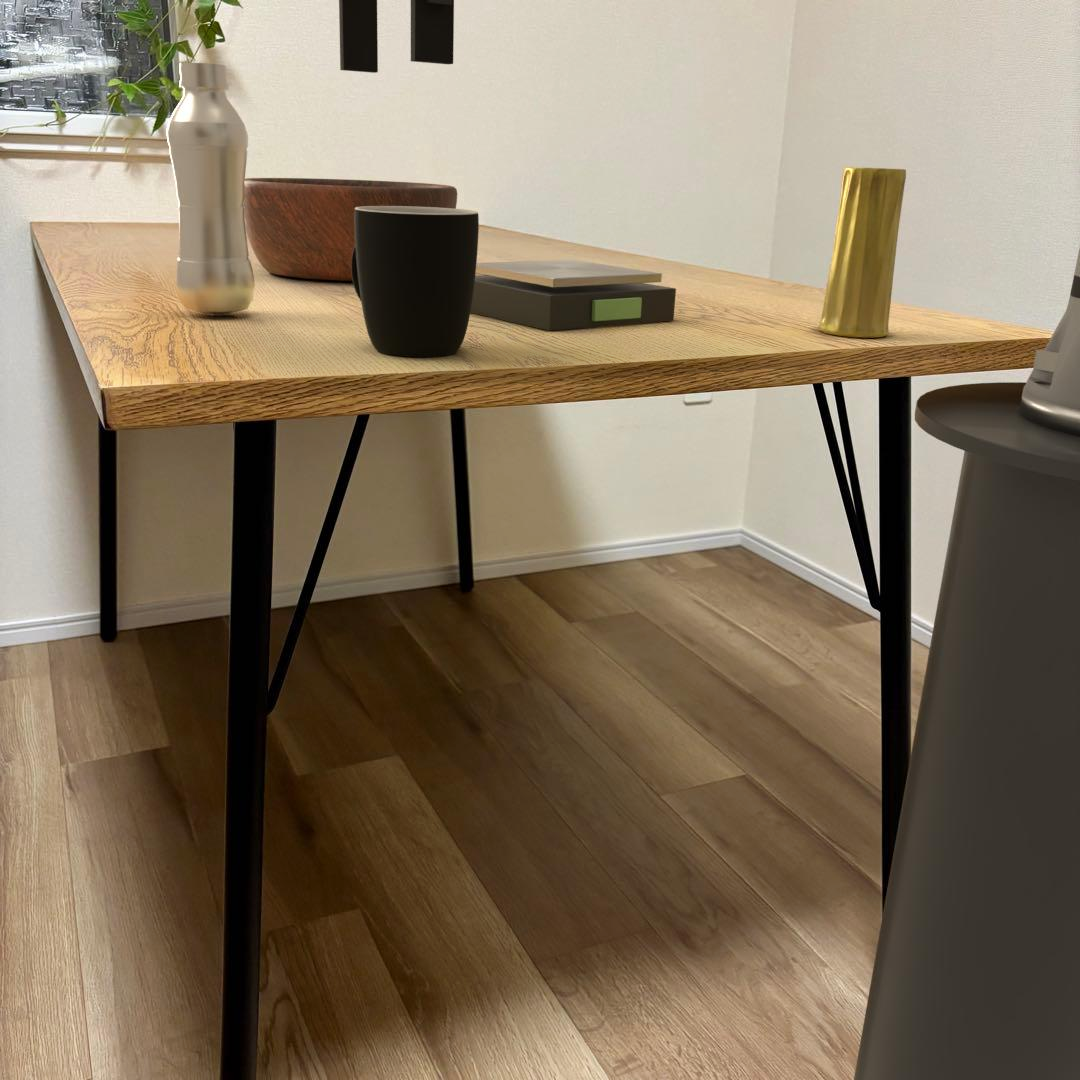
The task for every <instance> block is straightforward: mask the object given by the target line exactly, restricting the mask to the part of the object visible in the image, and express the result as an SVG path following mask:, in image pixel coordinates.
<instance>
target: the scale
mask: <svg viewBox="0 0 1080 1080" xmlns="http://www.w3.org/2000/svg"><path fill="white" fill-rule="evenodd" d="M676 294H677V288H675V287H669V286H663V285H656V284H652V283H651V284H650V283H633V284H614V285H595V286H576V287H557V288H552V287H547V286H542V285H536V284H531V283H525V282H520V281H515V280H509V279H504V278H498V277H493V276H487V275H482V274H478V275H475V283H474V291H473V298H472V305H471V311H470V314H471V313H472V314H475V315H479V316H483V317H488V318H493V319H496V320H501V321H504V322H505V321H506V322H510V323H513V324H518V325H522V326H527V327H530V328H531V327H532V328H535V329H540V330H545V331H549V332H553V331H555V332H556V331H564V330H565V331H566V330H568V331H569V330H578V329H580V330H581V329H590V328H602V327H615V326H625V325H627V326H628V325H640V324H650V323H653V324H654V323H662V322H663V323H664V322H674V320H675V307H676V296H677V295H676Z"/></svg>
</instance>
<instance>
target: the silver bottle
mask: <svg viewBox="0 0 1080 1080" xmlns="http://www.w3.org/2000/svg"><path fill="white" fill-rule="evenodd" d="M179 77H180V78H179V79H180V80H179V88H183V96H182V97H181V100H180V101H179V102H178V104H177V106H176V107H175V108H174V110H173V112H172V114H171V117H170V118H169V120H168V123H167V128H166V139H167V144H168V146H169V148H168V150H169V155H170V161H171V164H172V165H171V166H172V171H173V176H174V180H175V189H176V190H175V191H176V198H177V199H178V204H177V208H178V221H179V222H178V255H179V256H178V257H177V261H176V268H175V280H174V281H175V288H176V293H177V297H178V300H179V302H180V303H181V305H182V306H183V307H184V309H186V310H189V311H192V312H196V313H202V314H205V315H209V316H216V317H217V316H226V315H231V314H233V313H238V312H242V311H245V310H248V309H249V308H250V306H251V304H252V303H253V301H254V294H255V286H256V283H255V278H254V271H253V267H252V263H251V259H249V256H250V255H249V247H248V237H247V233H246V229H245V221H244V207H243V201H244V182H245V179H246V171H247V170H246V168H247V158H248V147H249V134H248V131H247V128H246V125H245V123H244V121H243V119H242V118H241V116H240V115H239V113H238V111H237V110H236V108H235V107H234V106H233V105H232V103H231V102H230V101H229V100H228V98H227V93H226V91H229V90H230V84H229V83H228V68H227V66H226V65H225V64H220V63H219V64H218V63H207V62H180V63H179Z"/></svg>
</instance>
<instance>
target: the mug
mask: <svg viewBox="0 0 1080 1080" xmlns="http://www.w3.org/2000/svg"><path fill="white" fill-rule="evenodd" d="M479 217H480V216H479V212H478V211H476V210H471V209H464V208H463V209H462V208H456V209H452V208H437V207H413V206H363V207H356V208H355V211H354V231H355V247H354V249H353V253H352V259H351V274H352V280H353V281H352V284H353V289H354V291H355V293H356V296H357V297H358V299H359V301H360V302H361V309H362V314H363V319H364V324H365V327H366V331H367V335H368V338H369V340H370V343H371V344H372V347H373V348H374V349H375V350H376V351H377V352H378V353H382V354H384V355H385V354H386V355H390V356H398V357H408V358H409V357H410V358H411V357H412V358H432V357H443V356H449V355H453V354H455V353H457V352H458V351H459V350H460V348H461V347H462V344H463V342H464V340H465V337H466V334H467V331H468V326H469V321H470V317H471V313H470V311H471V305H472V298H473V291H474V283H475V276H476V274H477V273H476V263H478V250H479V229H480V228H479V223H480V222H479V221H480V220H479V219H480V218H479Z"/></svg>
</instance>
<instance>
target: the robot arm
mask: <svg viewBox="0 0 1080 1080" xmlns="http://www.w3.org/2000/svg"><path fill="white" fill-rule="evenodd" d="M338 19H339V22H338V23H339V66H340V67H339V68H340V69H339V70H340V71H344V72H345V71H346V72H357V73H358V72H359V73H372V74H376V73H379V61H378V60H379V57H378V56H379V55H378V54H379V53H378V52H379V51H378V50H379V44H378V0H338ZM454 28H455V0H410V62H413V63H415V62H416V63H426V64H438V65H454V44H455V43H454V39H455V38H454V37H455V36H454V35H455V33H454V32H455V29H454ZM1075 263H1076V264H1075V269H1074V273H1073V279H1072V284H1071V289H1070V294H1069V298H1068V303H1067V307H1066V309H1065V312H1064V313H1063V315H1062V317H1061V319H1060V321H1059V322H1058V325H1057V326H1056V328H1055V329H1054V331H1053V333H1052V335H1051V337H1050V339H1049V341H1048V342H1047V344H1046V346H1045V348H1044V349H1037V348H1036V349H1035V350H1036V351H1035V355H1034V361H1033V366H1032V371H1031V373H1030V374H1029V376H1028V378H1027V380H1026V382H1025V383H1026V385H1025V386H1024V388H1023V394H1022V399H1021V404H1020V409H1019V411H1020V413H1021V415H1022V416H1024V417H1025V418H1026V419H1028V420H1030V421H1032V422H1034V423H1036V424H1038V425H1041V426H1044V427H1047V428H1050V429H1053V430H1056V431H1059V432H1063V433H1067V434H1071V435H1075V436H1079V437H1080V247H1079V249H1078V254H1077V258H1076V262H1075Z"/></svg>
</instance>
